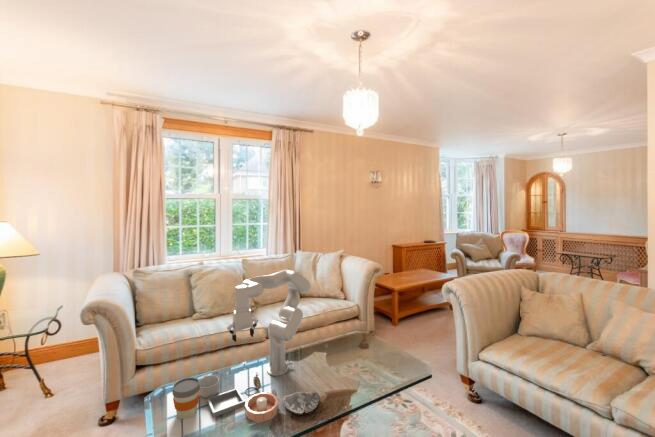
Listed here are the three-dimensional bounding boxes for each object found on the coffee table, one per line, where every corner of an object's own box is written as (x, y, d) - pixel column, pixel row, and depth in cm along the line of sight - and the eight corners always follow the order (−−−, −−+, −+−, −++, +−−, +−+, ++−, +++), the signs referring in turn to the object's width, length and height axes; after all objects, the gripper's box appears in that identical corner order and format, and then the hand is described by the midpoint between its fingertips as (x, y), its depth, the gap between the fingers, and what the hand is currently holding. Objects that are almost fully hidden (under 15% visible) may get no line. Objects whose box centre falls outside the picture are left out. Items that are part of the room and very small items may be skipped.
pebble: (264, 404, 166) (264, 395, 165) (268, 410, 161) (268, 401, 161) (255, 408, 163) (255, 399, 162) (258, 414, 159) (258, 404, 158)
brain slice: (285, 421, 155) (285, 416, 155) (281, 399, 172) (281, 394, 171) (324, 414, 160) (324, 409, 160) (316, 393, 177) (317, 388, 176)
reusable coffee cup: (195, 401, 169) (195, 374, 167) (204, 414, 159) (203, 385, 158) (170, 411, 161) (169, 383, 159) (177, 426, 151) (176, 396, 150)
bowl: (270, 396, 173) (270, 388, 173) (283, 414, 160) (283, 405, 160) (241, 407, 164) (241, 399, 164) (252, 427, 151) (252, 418, 151)
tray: (237, 393, 176) (237, 388, 176) (245, 406, 165) (245, 401, 165) (206, 403, 167) (206, 398, 167) (213, 418, 156) (213, 412, 156)
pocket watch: (243, 395, 174) (242, 377, 173) (250, 386, 182) (250, 369, 181) (256, 397, 172) (256, 380, 171) (263, 388, 180) (263, 371, 180)
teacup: (220, 398, 171) (219, 384, 171) (198, 403, 167) (197, 388, 167) (218, 383, 184) (218, 370, 183) (198, 387, 180) (198, 374, 179)
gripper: (254, 302, 181) (255, 331, 183) (224, 309, 171) (225, 340, 173) (260, 306, 175) (260, 336, 177) (229, 314, 165) (230, 345, 167)
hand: (243, 338), depth 175 cm, fingers open, 9 cm apart
